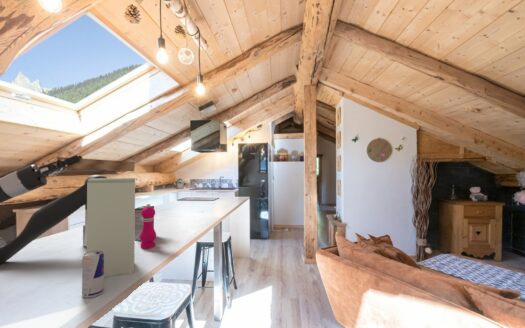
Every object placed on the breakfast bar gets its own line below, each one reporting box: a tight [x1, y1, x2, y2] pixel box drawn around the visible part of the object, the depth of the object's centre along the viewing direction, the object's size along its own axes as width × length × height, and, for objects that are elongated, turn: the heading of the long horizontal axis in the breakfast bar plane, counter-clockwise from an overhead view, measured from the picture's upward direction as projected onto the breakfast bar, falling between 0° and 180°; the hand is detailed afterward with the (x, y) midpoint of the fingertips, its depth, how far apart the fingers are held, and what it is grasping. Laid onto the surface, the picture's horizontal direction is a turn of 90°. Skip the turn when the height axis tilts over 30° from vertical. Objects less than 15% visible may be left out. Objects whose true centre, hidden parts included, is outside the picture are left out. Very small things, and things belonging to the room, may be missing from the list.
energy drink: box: [81, 251, 105, 299], centre depth 77 cm, size 5×5×12 cm
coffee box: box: [135, 205, 155, 241], centre depth 137 cm, size 9×6×16 cm
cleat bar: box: [56, 156, 136, 172], centre depth 92 cm, size 23×4×4 cm, turn 112°
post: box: [86, 177, 136, 278], centre depth 94 cm, size 14×10×33 cm
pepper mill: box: [139, 203, 157, 250], centre depth 122 cm, size 7×7×20 cm
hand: (80, 157), depth 90 cm, fingers closed on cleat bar, 3 cm apart
